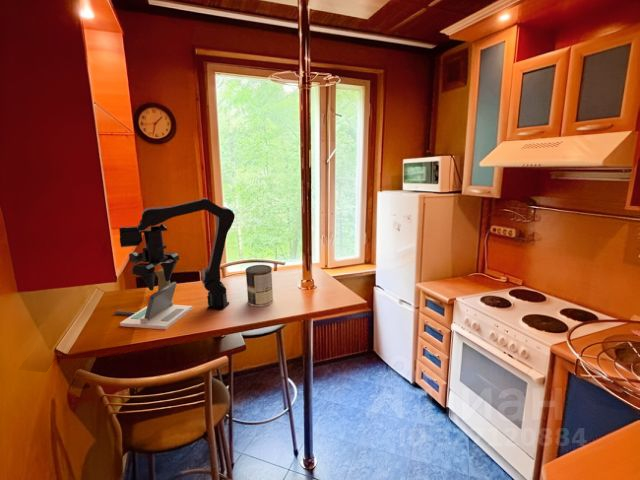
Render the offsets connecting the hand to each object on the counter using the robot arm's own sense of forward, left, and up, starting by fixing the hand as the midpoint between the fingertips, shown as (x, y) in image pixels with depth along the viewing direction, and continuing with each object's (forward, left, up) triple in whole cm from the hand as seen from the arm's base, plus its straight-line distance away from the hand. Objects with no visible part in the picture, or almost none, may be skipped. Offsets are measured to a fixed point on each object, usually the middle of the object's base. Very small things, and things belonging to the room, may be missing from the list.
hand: (159, 285), depth 125 cm
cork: (+14, -22, -13) cm, 29 cm away
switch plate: (+7, 0, -12) cm, 14 cm away
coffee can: (-31, -19, -13) cm, 38 cm away
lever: (+2, 0, -10) cm, 11 cm away
